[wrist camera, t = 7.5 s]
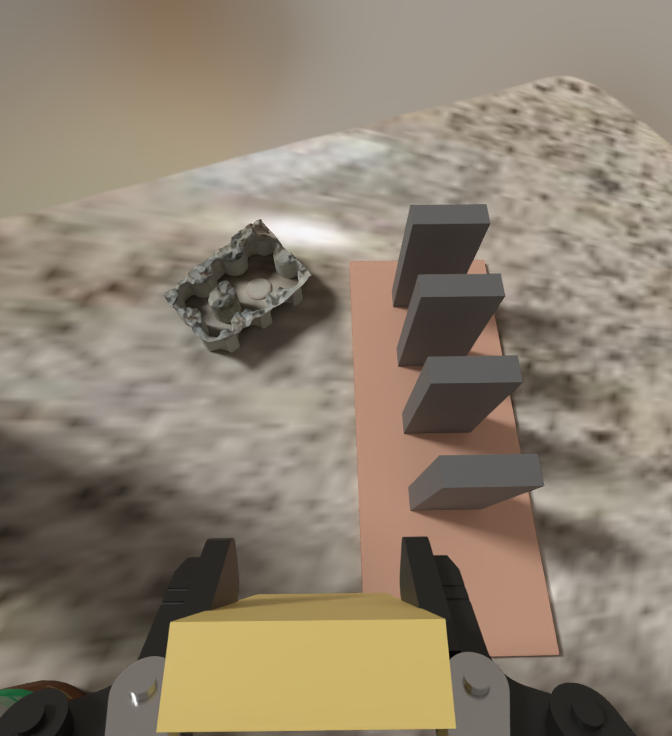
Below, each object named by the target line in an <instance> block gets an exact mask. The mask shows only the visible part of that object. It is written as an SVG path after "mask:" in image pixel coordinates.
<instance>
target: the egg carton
mask: <svg viewBox="0 0 672 736" xmlns="http://www.w3.org/2000/svg"><path fill="white" fill-rule="evenodd" d="M254 254H258V255H262V256H267V255H271V254H273V255H274V262H275V267H276V272H277V273H278V274H279V275H280V276H281V277H283V278H294V277H296V276H297V277H298V280H299V282H298V284H297V286H295V287H292V288H291V289H285V288H281V287H279V288H278V289H276V290H274V291H273V292H271V290H272V285H271V283H270V282H269V281H268V280H267V279H263V278H256V279H253V280H251V281H250V282H249V284H247V287H246V293H247V295H248V296H249V297H250V298H252V299H255V300H260V299H264V298H266V301H267V304H268V308H263V309H262V310H259V309H257V310H255V311H254V312H252V311H251V310H249V309H245V310H244V311H243V312H242V313H241V305H240V303H239V300H238V297H237V294H236V291H235V289H234V288H233V287H232V286H231V284H230V283H229V282H228V281H226V280H225V281H222V282H220V283H219V284H218V283H217V280H218V279H220V278H221V277H222V276H223V275H224V274H225V273H226V274H227V275H230V276H239V275H241V274H243V273H244V272H245V271H246V270H247V268H248V260H247V259H248V258H249V257H250V256H252V255H254ZM310 275H311V274H310V272H309V271H308V270H307V269H306V268H305V267H304V265H303V264H301V263H300V262H299V261H298V260H297V259H296V258H295V257H294V255H293V254H292V253H289V252H288V251H287V250H286V249H285V248H284V247H283V246H282V244H281V243H280V242H279V240H278V239H277V238H276V236H275V235H274V234H273V233H272V232H271V231H270V230H269V229H268V228H267V227H266V226H265V224H264V223H263V222H262V220H261V219H260V220H257V221H256V222H255V223H254V224H249V225H247V226H246V227H245V228H244V229H243V230H240V231H239V232H238V233H237V234H235V235H234V236H233V237H232V238H231V242H230V243H229V244H228V245H227V246H225V247H223V248H221V249H218V250H217V251H215V253H214V255H213V256H211V257H210V258H208V259H207V260H206V261H205V262H203V263H201V264H199V265H197V266H195V267H194V268H193V269H192V270H191V271H190V272H189V273H188V274H187V275H186V276H185V278H184V279H183V280H182V281H181V282H179V283H178V285H177V286H176V288H174V289H171V290H168V291H167V292H165V294H164V296H165V298H166V299H167V301H168V303H169V304H170V306H171V307H172V308H175V310H176V311H177V313H178V314H179V316H180V318H181V320H182V321H183V322H184V323H185V324H186V325H190V326H191V327H192V329H193V331H194V333H195V334H196V335H197V336H199V337H200V339H201V340H202V342H203V344H204V346H205V347H206V348H207V350H208V351H210V352H212V351H214V350H217V349H223V350H226V351H228V352H230V353H232V352H234V351H235V350H236V349H238V348H239V347H240V344H239V341H238V335H239V333H240V331H241V330H242V329H243V328H245V327H248V326H250V325H255V326H259V327H261V328H263V329H264V328H266V327H267V326H268V325H270V324H271V323H272V318H271V314H270V312H271V309H272V308H274V307H276V306H278V305H280V304H281V303H283V302H288V303H291V304H293V305H296V304H298V303H299V302H301V301H302V300H303V295H302V289H301V287H302V285H303V284H304V283H305V282H306V280H307V279H308V277H309V276H310ZM193 295H196V296H197V297H201V298H207V297H209V298H208V302H209V305H210V307H211V309H212V312H213V313H214V314H213V313H212V314H213V315H215V317H216V319H217V320H219V321H220V322H223V323H231V325H232V330H231V331H230V330H228V329H226V330H222V331H221V332H220V335H219V336H218V337H217V338H216V337H209V330H208V327H207V325H206V323H205V321H204V320H203V317H202V315H201V313H200V311H199V310H198V309H197V308H195V309H191V308H190V307H187V308H186V304H185V301H186V300H187V299H188V298H189V297H191V296H193ZM260 311H262V314H260Z"/></svg>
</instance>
